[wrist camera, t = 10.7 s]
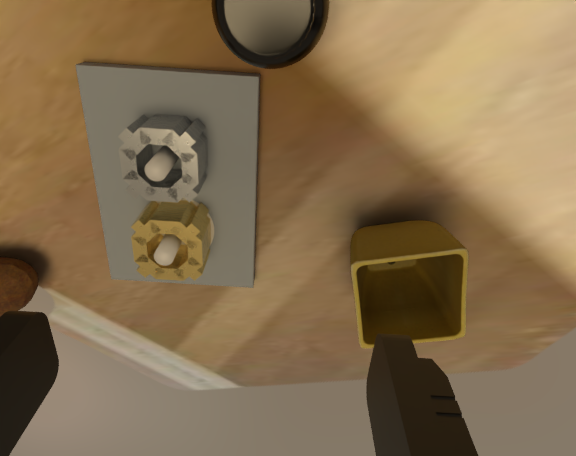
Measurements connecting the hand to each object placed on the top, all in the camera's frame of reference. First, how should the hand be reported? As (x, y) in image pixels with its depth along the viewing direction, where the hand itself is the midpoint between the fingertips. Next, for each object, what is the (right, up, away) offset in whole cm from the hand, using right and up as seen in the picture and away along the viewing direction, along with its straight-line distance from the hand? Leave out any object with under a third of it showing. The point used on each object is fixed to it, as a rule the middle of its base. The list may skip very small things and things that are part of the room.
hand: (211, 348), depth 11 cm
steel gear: (-8, +9, +25) cm, 28 cm away
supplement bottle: (+1, +20, +22) cm, 29 cm away
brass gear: (-8, +3, +29) cm, 30 cm away
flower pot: (+12, +1, +31) cm, 33 cm away
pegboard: (-8, +7, +28) cm, 30 cm away
